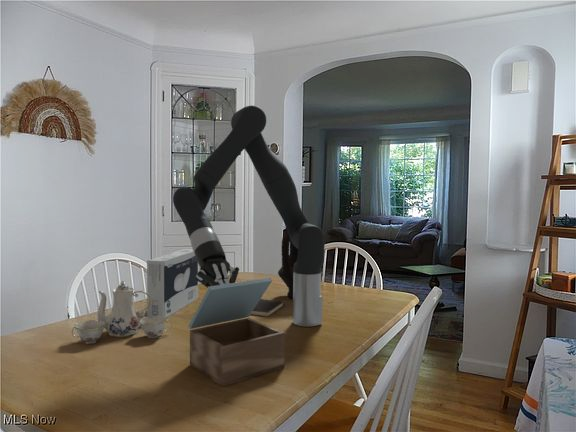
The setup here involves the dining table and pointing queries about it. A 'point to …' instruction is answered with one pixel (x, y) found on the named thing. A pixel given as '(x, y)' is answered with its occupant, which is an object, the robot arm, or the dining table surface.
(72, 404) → the dining table surface
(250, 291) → the lid
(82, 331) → the chinaware
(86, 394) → the dining table surface
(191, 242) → the robot arm
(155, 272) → the packaging
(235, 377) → the box
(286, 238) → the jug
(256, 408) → the dining table surface
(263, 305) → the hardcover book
